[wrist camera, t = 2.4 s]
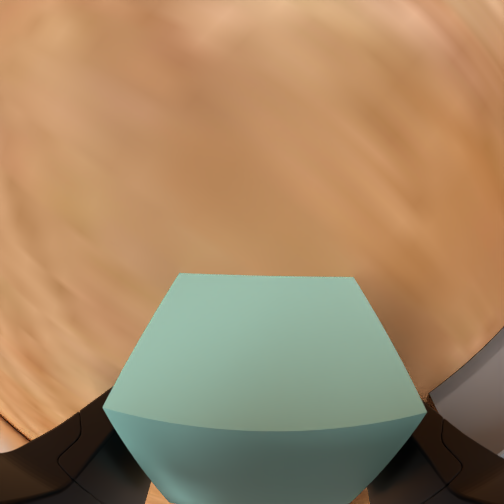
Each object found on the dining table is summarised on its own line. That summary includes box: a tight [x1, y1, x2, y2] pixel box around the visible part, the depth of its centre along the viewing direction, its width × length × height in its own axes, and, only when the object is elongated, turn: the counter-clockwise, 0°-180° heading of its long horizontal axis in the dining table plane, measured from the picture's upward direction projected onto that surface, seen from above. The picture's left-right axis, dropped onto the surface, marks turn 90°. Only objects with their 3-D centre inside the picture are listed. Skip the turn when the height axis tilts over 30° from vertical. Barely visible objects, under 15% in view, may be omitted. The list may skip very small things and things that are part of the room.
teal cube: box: [102, 273, 427, 504], centre depth 6 cm, size 5×5×5 cm
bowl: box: [0, 416, 30, 453], centre depth 16 cm, size 30×30×8 cm
